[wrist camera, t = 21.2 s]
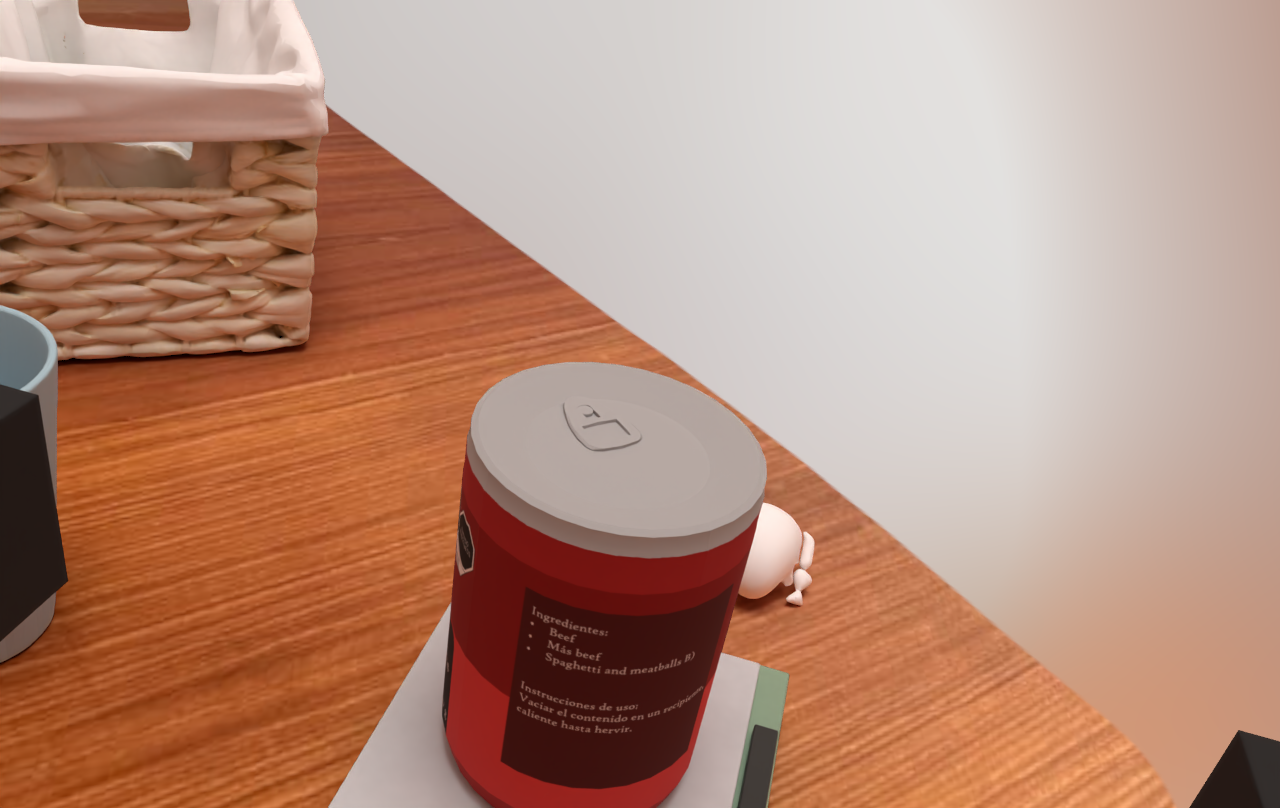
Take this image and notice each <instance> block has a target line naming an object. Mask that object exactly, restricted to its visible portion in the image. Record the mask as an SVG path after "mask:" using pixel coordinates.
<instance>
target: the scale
mask: <svg viewBox="0 0 1280 808" xmlns="http://www.w3.org/2000/svg"><path fill="white" fill-rule="evenodd" d="M450 611H451V603H450V605H449V606H448V608H447V610H446V611H445V613H444V615H443V616H442V618H441V620H440V621H439V623H438V625H437V626H436V628H435V630H434V631H433V633H432V635H431V636H430V638H429V640H428V641H427V643H426V645H425V646H424V648H423V650H422V651H421V653H420V655H419V656H418V658H417V660H416V662H415V663H414V665H413V667H412V668H411V670H410V672H409V673H408V675H407V677H406V678H405V680H404V682H403V683H402V685H401V687H400V688H399V690H398V692H397V693H396V695H395V697H394V698H393V700H392V702H391V703H390V705H389V707H388V708H387V710H386V712H385V713H384V715H383V717H382V718H381V720H380V722H379V723H378V725H377V727H376V728H375V730H374V732H373V733H372V735H371V737H370V738H369V740H368V742H367V743H366V745H365V747H364V748H363V750H362V752H361V753H360V755H359V757H358V758H357V760H356V762H355V763H354V765H353V767H352V768H351V770H350V772H349V773H348V775H347V777H346V778H345V780H344V782H343V783H342V785H341V787H340V788H339V790H338V792H337V793H336V795H335V797H334V798H333V800H332V802H331V803H330V805H329V807H328V808H494V807H492V806H491V805H490V804H489V803H488V802H487V801H486V800H484V799H483V798H482V797H481V796H480V795H479V794H478V793H477V792H476V791H474V789H473V788H472V787H471V785H470V784H469V783H468V781H467V780H466V779H465V777H464V776H463V775H462V773H461V772H460V770H459V767H458V765H457V763H456V761H455V759H454V757H453V754H452V752H451V749H450V746H449V743H448V740H447V737H446V733H445V728H444V723H443V718H442V703H443V688H444V677H445V666H446V655H447V644H448V633H449V622H450ZM788 681H789V674H788V673H786V672H782V671H779V670H775V669H772V668H768V667H765V666H762V665H760V664H759V663H755V662H752V661H748V660H745V659H742V658H738V657H735V656H731V655H728V654H724V653H721V655H720V659H719V663H718V666H717V670H716V673H715V677H714V680H713V684H712V687H711V691H710V694H709V698H708V701H707V705H706V708H705V712H704V715H703V719H702V723H701V726H700V730H699V733H698V737H697V740H696V744H695V747H694V751H693V754H692V757H691V761H690V764H689V767H688V769H687V770H686V772H685V774H684V775H683V777H682V779H681V780H680V782H679V783H678V785H677V786H676V787H675V789H674V790H673V791H672V792H671V793H670V794H669V795H668V797H667V798H666V799H665V800H664V801H663V802H662V803H661V804H660V805H659V806H658V807H657V808H768V802H769V796H770V790H771V784H772V778H773V772H774V766H775V760H776V754H777V748H778V742H779V736H780V729H781V723H782V717H783V711H784V705H785V699H786V693H787V687H788Z"/></svg>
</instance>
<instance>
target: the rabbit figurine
mask: <svg viewBox="0 0 1280 808" xmlns="http://www.w3.org/2000/svg"><path fill="white" fill-rule="evenodd" d="M803 534H804V542H803V548H802V552H801V557H800V562H799V554H800V549H801V544H802V534H801V531H800V528H799V526H798V525H797V524H796V522H795V521H794V519H793V518H792V517H791V516H790V515H789V514H787V513H786V512H784V511H783V510H781V509H780V508H778V507H776V506H773V505H771V504H768V503H762V507H761V511H760V514H759V518H758V522H757V527H756V532H755V535H754V539H753V543H752V546H751V550H750V553H749V557H748V560H747V564H746V567H745V571H744V574H743V578H742V581H741V585H740V588H739V592H738V593H739V594H740V595H741V596H744V597H746V598H749V599H758V598H760V597H763V596H765V595H767V594H768V593H769V592H771V591H772V590H773V589H774V588H775V587H776V586H777V585H778V584H779V583H780V582H782V583H783V584H784V585H785V586H790V585H791V584H792V583H794V586H795V589H796V591H795V592H794V593H792V594H791V595H789V596H788V597H787V598H786V600H787V601H788V602H790V603H792V604H795V605H799V606H800V605H802V594H801V591H802V590H803V589H805V588H806V587H808V586H809V585H810V584H811V582H812V579H811V577H810V575H809V574H808V573H807V572H806V571H805V569H808V568H809V567H810V566H811V563H812V558H813V552H814V539H813V537H812V536H810V535H809V534H808V533H807V532H804V533H803ZM797 563H799V565H800V567H801V568H802V569H798V570H796V571H795V572H794V575H793V569H794V566H795V564H797ZM803 569H804V570H803Z"/></svg>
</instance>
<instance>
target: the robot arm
mask: <svg viewBox="0 0 1280 808" xmlns="http://www.w3.org/2000/svg"><path fill="white" fill-rule="evenodd" d="M67 581H68V578H67V572H66V565H65V559H64V553H63V546H62V540H61V534H60V527H59V521H58V515H57V508H56V502H55V496H54V489H53V483H52V477H51V471H50V464H49V458H48V452H47V445H46V439H45V433H44V426H43V420H42V414H41V407H40V401H39V395H37V394H33V393H30V392H26V391H22V390H19V389H15V388H12V387H8V386H4V385H1V384H0V642H1V641H2V640H3V639H4V638H5V637H6V636H7V635H8V634H10V633H11V632H12V631H13V630H14V629H15V628H16V627H17V626H18V625H20V624H21V623H22V622H23V621H24V620H25V619H26V618H27V617H28V616H30V615H31V614H32V613H33V612H34V611H35V610H36V609H37V608H38V607H40V606H41V605H42V604H43V603H44V602H45V601H46V600H47V599H48V598H50V597H51V596H52V595H53V594H54V593H55V592H56V591H57V590H58V589H60V588H61V587H62V586H63V585H64V584H65V583H66V582H67ZM1190 808H1280V742H1279V741H1276V740H1272V739H1268V738H1265V737H1261V736H1258V735H1254V734H1251V733H1247V732H1243V731H1240V730H1238V732H1237V733H1236V735H1235V737H1234V738H1233V740H1232V741H1231V743H1230V744H1229V746H1228V748H1227V749H1226V751H1225V753H1224V754H1223V756H1222V757H1221V759H1220V760H1219V762H1218V764H1217V765H1216V767H1215V768H1214V770H1213V772H1212V773H1211V774H1210V776H1209V778H1208V779H1207V781H1206V782H1205V784H1204V786H1203V787H1202V789H1201V790H1200V792H1199V794H1198V795H1197V797H1196V798H1195V800H1194V801H1193V803H1192V805H1191V806H1190Z"/></svg>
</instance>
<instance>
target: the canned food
mask: <svg viewBox="0 0 1280 808" xmlns="http://www.w3.org/2000/svg"><path fill="white" fill-rule="evenodd" d="M766 479H767V471H766V460H765V457H764V455H763V452H762V449H761V446H760V444H759V443H758V441H757V440H756V438H755V437H754V435H753V434H752V432H751V431H750V429H749V428H748V427H747V426H746V425H745V424H744V423H743V422H742V421H741V420H740V419H739V418H738V417H737V416H736V415H735V414H734V413H733V412H731V411H730V410H728V409H727V408H726V407H724V406H723V405H722V404H720V403H719V402H718V401H716V400H715V399H713V398H711V397H709V396H708V395H706V394H704V393H702V392H700V391H699V390H697V389H695V388H693V387H691V386H688V385H686V384H684V383H681V382H679V381H677V380H674V379H672V378H669V377H666V376H663V375H659V374H656V373H653V372H650V371H646V370H642V369H637V368H632V367H627V366H623V365H616V364H606V363H597V362H566V363H557V364H549V365H542V366H539V367H535V368H531V369H527V370H523V371H520V372H518V373H516V374H514V375H511V376H509V377H507V378H504V379H503V380H501V381H500V382H498V383H497V384H496V385H494V386H493V387H491V388H490V389H489V390H488V391H487V392H486V393H485V394H484V396H483V397H482V398H481V399H480V400H479V401H478V403H477V405H476V408H475V410H474V413H473V415H472V418H471V427H470V430H469V433H468V435H467V444H466V455H465V463H464V468H463V477H462V488H461V499H460V511H459V522H458V533H457V544H456V555H455V566H454V577H453V588H452V600H451V611H450V622H449V633H448V644H447V655H446V666H445V677H444V688H443V703H442V718H443V723H444V728H445V733H446V737H447V740H448V743H449V746H450V749H451V752H452V754H453V757H454V759H455V761H456V763H457V765H458V767H459V770H460V772H461V773H462V775H463V776H464V777H465V779H466V780H467V781H468V783H469V784H470V785H471V787H472V788H473V789H474V791H476V792H477V793H478V794H479V795H480V796H481V797H482V798H483V799H484V800H486V801H487V802H488V803H489V804H490V805H491V806H492V807H494V808H657V807H658V806H659V805H660V804H661V803H662V802H663V801H664V800H665V799H666V798H667V797H668V795H669V794H670V793H671V792H672V791H673V790H674V789H675V787H676V786H677V785H678V783H679V782H680V780H681V779H682V777H683V775H684V774H685V772H686V770H687V769H688V767H689V764H690V761H691V757H692V754H693V751H694V747H695V744H696V740H697V737H698V733H699V730H700V726H701V723H702V719H703V715H704V712H705V708H706V705H707V701H708V698H709V694H710V691H711V687H712V684H713V680H714V677H715V673H716V670H717V666H718V663H719V659H720V655H721V652H722V648H723V645H724V641H725V638H726V634H727V631H728V627H729V624H730V620H731V617H732V613H733V610H734V606H735V603H736V599H737V595H738V592H739V588H740V585H741V581H742V578H743V574H744V571H745V567H746V564H747V560H748V557H749V553H750V550H751V546H752V543H753V539H754V535H755V532H756V527H757V522H758V518H759V514H760V511H761V507H762V503H763V500H764V487H765V483H766Z"/></svg>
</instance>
